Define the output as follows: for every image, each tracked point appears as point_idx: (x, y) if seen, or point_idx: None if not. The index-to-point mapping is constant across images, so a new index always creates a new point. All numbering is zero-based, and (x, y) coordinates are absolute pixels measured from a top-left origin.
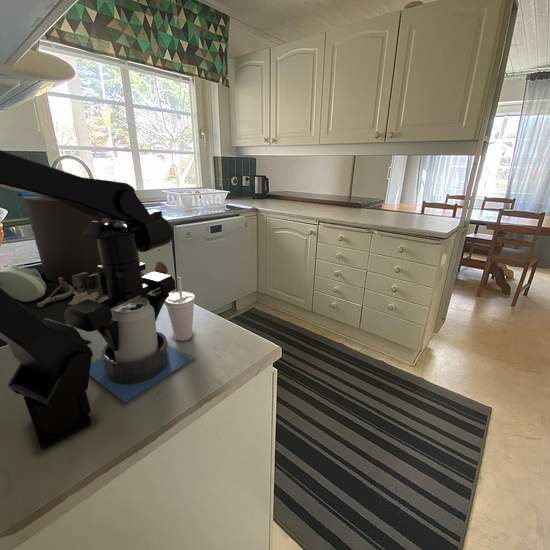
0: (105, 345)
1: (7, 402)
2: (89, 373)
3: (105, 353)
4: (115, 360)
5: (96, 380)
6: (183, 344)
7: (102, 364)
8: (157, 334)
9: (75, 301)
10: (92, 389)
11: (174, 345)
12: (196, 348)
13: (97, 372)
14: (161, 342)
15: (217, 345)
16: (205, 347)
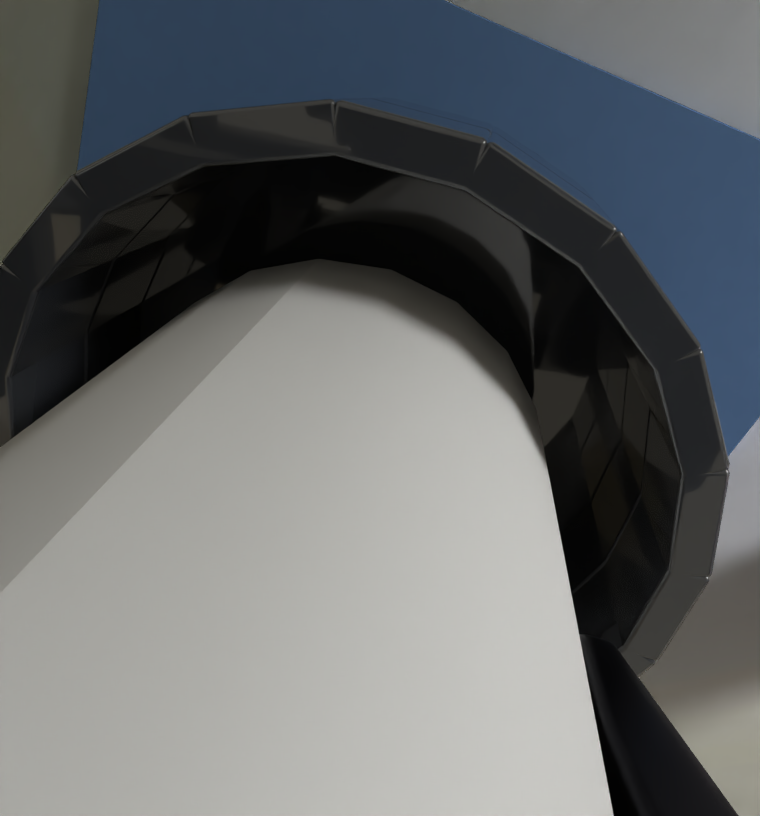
0: (175, 133)
1: None
2: (101, 20)
3: (61, 266)
4: (335, 160)
5: (82, 166)
6: (748, 607)
7: (259, 40)
8: (629, 618)
9: None
10: (7, 214)
11: (725, 545)
12: (689, 705)
13: (145, 96)
14: (579, 599)
15: (746, 813)
16: (710, 753)
